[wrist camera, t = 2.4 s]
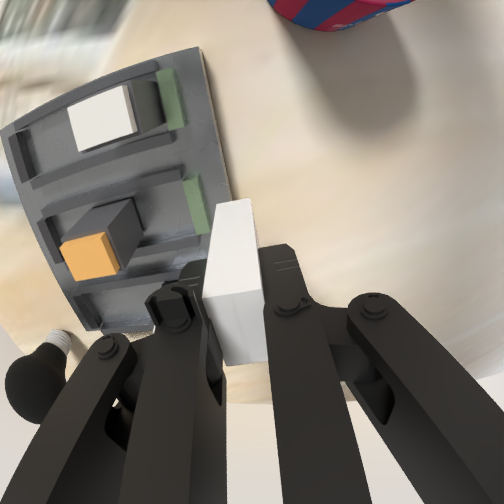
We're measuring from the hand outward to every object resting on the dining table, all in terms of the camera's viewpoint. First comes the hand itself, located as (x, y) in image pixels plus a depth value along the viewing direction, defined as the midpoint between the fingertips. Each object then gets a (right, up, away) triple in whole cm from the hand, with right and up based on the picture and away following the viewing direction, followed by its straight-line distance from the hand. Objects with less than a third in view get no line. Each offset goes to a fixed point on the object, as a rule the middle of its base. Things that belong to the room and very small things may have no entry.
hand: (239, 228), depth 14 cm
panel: (-8, +2, +5) cm, 9 cm away
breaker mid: (-8, +1, +3) cm, 8 cm away
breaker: (-6, +6, 0) cm, 8 cm away
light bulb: (-17, -8, +10) cm, 22 cm away
